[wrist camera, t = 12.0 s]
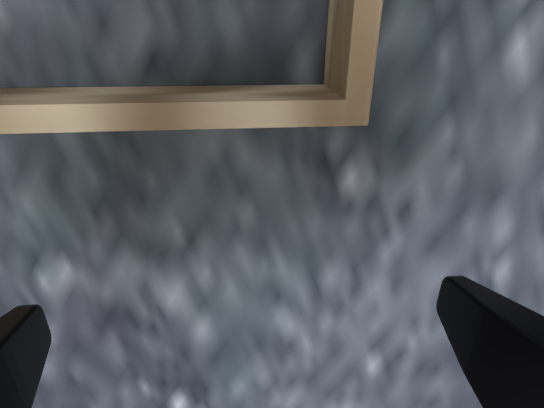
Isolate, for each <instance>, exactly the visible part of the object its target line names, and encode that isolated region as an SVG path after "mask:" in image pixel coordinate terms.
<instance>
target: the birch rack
mask: <svg viewBox="0 0 544 408" xmlns="http://www.w3.org/2000/svg"><path fill="white" fill-rule="evenodd" d="M382 5H383V0H329V11H328V26H327V42H326V57H325V72H324V84H311V85H223V86H135V87H47V88H0V134H23V133H66V132H109V131H152V130H195V129H239V128H282V127H325V126H368V122H369V114H370V105H371V97H372V89H373V80H374V72H375V64H376V55H377V47H378V39H379V30H380V22H381V14H382Z"/></svg>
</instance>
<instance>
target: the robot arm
mask: <svg viewBox="0 0 544 408" xmlns="http://www.w3.org/2000/svg"><path fill="white" fill-rule="evenodd" d="M436 307H437V313H438V316H439V318H440V320H441V323H442V325H443V327H444V329H445V332H446V334H447V336H448V339H449V341H450V343H451V345H452V348H453V350H454V352H455V355H456V357H457V359H458V361H459V364H460V366H461V368H462V370H463V372H464V374H465V376H466V378H467V380H468V382H469V384H470V385H471V387H472V389H473V391H474V392H475V394H476V396H477V398H478V400H479V401H480V403H481V405H482V407H483V408H544V316H542V315H540V314H538V313H536V312H534V311H532V310H530V309H528V308H526V307H524V306H522V305H520V304H518V303H516V302H514V301H512V300H510V299H508V298H506V297H504V296H502V295H500V294H498V293H496V292H494V291H492V290H490V289H488V288H486V287H484V286H482V285H480V284H478V283H476V282H474V281H472V280H470V279H468V278H466V277H464V276H447V277H445V278H444V279H443V281H442V284H441V288H440V292H439V296H438V300H437V306H436ZM50 344H51V332H50V329H49V326H48V323H47V320H46V317H45V314H44V311H43V309H42V307H41V306H40V305H36V304H35V305H21V306H17V307H15V308H14V309H12V310H11V311H9V312H8V313H6V314H5V315H3V316H2V317H0V408H32V405H33V401H34V398H35V395H36V391H37V388H38V385H39V381H40V378H41V375H42V371H43V368H44V364H45V361H46V358H47V354H48V351H49V348H50Z"/></svg>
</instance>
